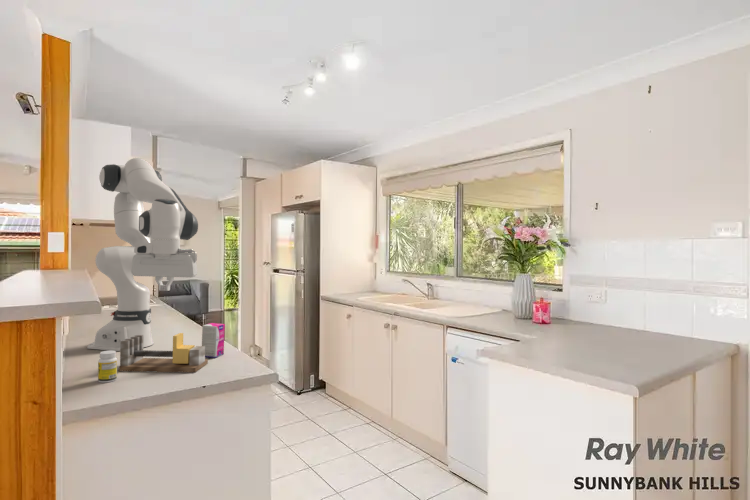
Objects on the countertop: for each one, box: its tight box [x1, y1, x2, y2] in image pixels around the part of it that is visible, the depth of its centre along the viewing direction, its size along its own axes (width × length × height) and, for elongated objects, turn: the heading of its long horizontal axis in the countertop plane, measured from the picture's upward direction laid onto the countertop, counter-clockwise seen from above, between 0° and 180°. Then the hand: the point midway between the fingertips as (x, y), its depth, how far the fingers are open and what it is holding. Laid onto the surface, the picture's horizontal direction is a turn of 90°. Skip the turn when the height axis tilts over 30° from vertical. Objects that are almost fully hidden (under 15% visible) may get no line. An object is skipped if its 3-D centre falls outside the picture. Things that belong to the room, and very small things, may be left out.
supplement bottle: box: [97, 350, 118, 384], centre depth 124 cm, size 5×5×8 cm
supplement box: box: [201, 322, 226, 359], centre depth 153 cm, size 6×6×12 cm
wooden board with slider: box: [118, 335, 209, 373], centre depth 138 cm, size 24×10×9 cm, turn 91°
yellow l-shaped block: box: [172, 332, 196, 364], centre depth 138 cm, size 5×5×9 cm
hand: (164, 290), depth 139 cm, fingers closed
